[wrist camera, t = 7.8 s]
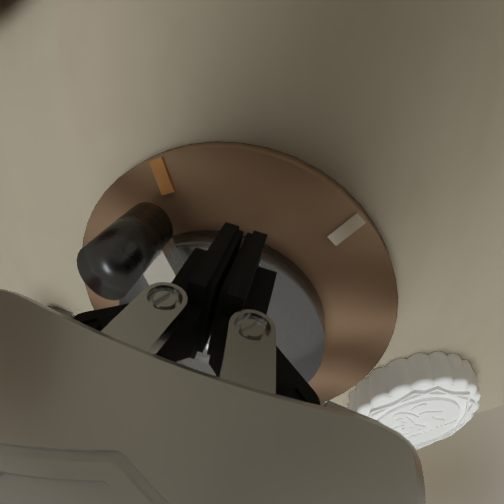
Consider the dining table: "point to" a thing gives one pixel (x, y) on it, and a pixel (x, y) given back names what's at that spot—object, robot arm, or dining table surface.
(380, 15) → the dining table surface
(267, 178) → the dial plate
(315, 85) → the dining table surface
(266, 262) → the dial
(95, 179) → the dining table surface
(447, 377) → the mooncake
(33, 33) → the dining table surface
